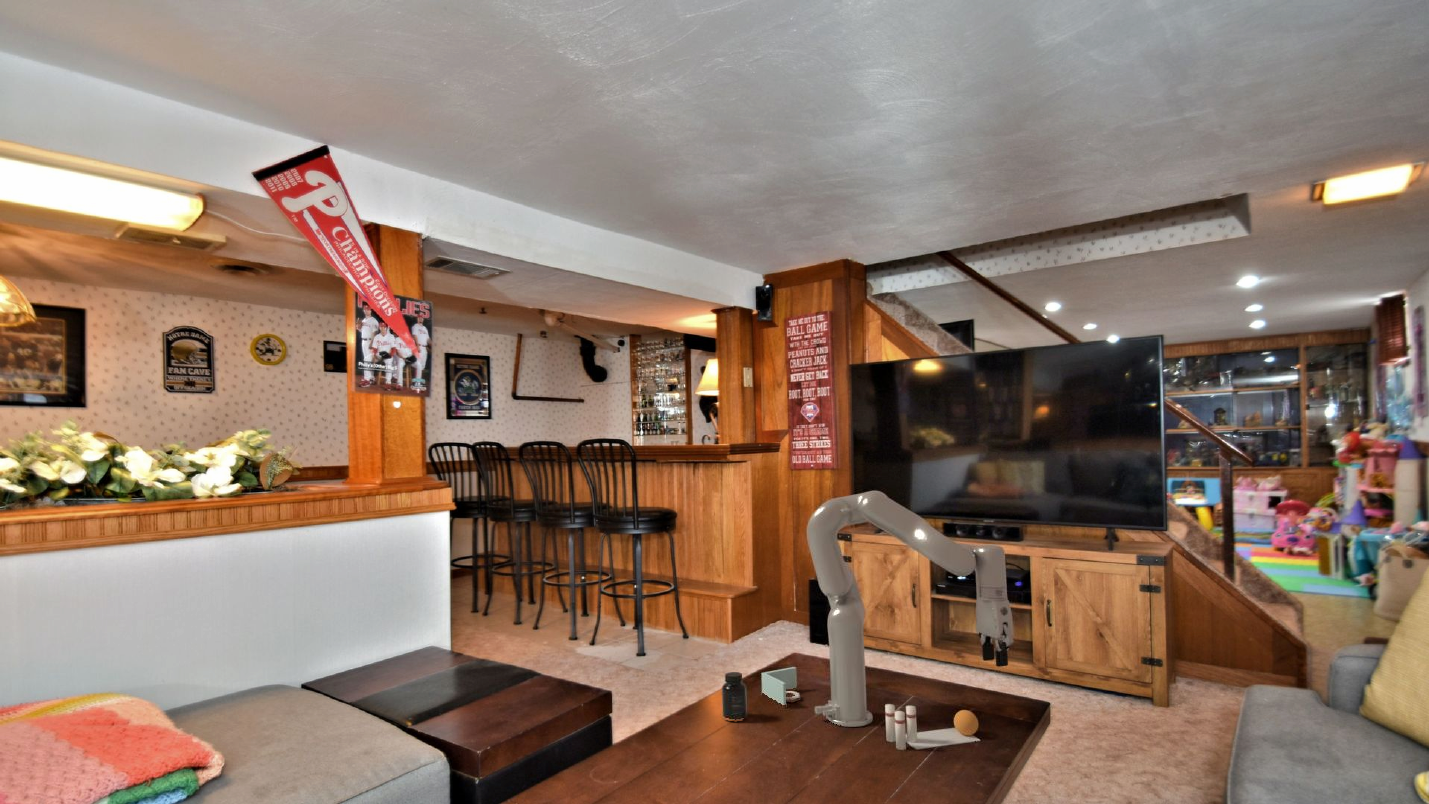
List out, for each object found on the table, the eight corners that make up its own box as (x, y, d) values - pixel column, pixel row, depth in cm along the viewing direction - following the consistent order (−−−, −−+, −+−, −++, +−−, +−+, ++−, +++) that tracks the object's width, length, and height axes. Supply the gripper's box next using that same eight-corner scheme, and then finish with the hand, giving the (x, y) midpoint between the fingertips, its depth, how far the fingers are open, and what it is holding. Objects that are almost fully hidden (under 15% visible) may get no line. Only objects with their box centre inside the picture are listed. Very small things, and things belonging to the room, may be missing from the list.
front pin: (910, 744, 177) (908, 709, 178) (905, 740, 180) (903, 705, 181) (919, 742, 178) (917, 708, 179) (914, 739, 180) (912, 704, 181)
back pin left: (889, 742, 179) (887, 707, 179) (884, 738, 181) (883, 704, 182) (898, 741, 179) (896, 706, 180) (893, 737, 182) (892, 703, 182)
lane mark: (916, 749, 174) (916, 748, 174) (898, 735, 183) (898, 734, 183) (980, 740, 179) (980, 739, 179) (959, 727, 187) (959, 726, 187)
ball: (963, 740, 179) (961, 715, 180) (949, 731, 185) (948, 707, 185) (983, 737, 180) (982, 713, 181) (969, 729, 186) (968, 705, 187)
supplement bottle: (750, 715, 200) (749, 671, 201) (743, 723, 193) (742, 678, 194) (727, 712, 202) (726, 669, 203) (719, 721, 196) (718, 676, 197)
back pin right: (899, 750, 174) (897, 714, 175) (894, 746, 176) (892, 711, 177) (908, 749, 175) (906, 713, 175) (903, 745, 177) (901, 710, 178)
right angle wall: (783, 710, 204) (783, 683, 205) (762, 698, 215) (761, 672, 216) (817, 702, 210) (817, 676, 211) (795, 691, 221) (794, 666, 221)
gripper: (1025, 597, 180) (1029, 670, 179) (984, 586, 197) (987, 653, 195) (999, 599, 179) (1003, 673, 177) (960, 587, 195) (963, 655, 194)
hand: (995, 662), depth 186 cm, fingers open, 4 cm apart
